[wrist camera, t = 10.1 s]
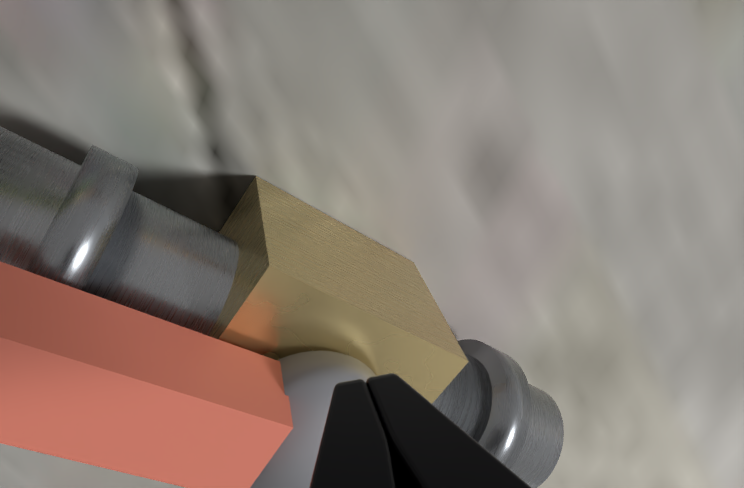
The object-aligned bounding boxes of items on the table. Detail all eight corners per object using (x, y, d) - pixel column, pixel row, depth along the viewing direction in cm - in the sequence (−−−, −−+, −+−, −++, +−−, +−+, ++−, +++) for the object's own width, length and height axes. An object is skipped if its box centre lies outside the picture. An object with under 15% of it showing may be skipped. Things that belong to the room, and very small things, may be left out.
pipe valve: (541, 332, 25) (618, 433, 20) (444, 440, 26) (494, 556, 22) (26, 49, 16) (-53, 110, 11) (-67, 240, 18) (-169, 362, 13)
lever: (411, 379, 17) (448, 470, 14) (334, 479, 18) (354, 580, 15) (-418, 61, 10) (-663, 121, 7) (-454, 261, 11) (-673, 379, 8)
